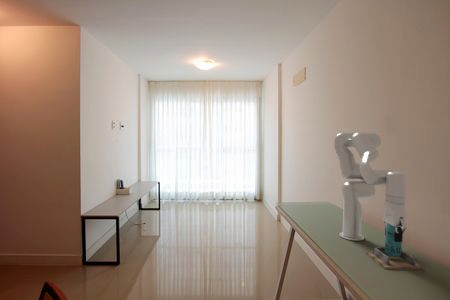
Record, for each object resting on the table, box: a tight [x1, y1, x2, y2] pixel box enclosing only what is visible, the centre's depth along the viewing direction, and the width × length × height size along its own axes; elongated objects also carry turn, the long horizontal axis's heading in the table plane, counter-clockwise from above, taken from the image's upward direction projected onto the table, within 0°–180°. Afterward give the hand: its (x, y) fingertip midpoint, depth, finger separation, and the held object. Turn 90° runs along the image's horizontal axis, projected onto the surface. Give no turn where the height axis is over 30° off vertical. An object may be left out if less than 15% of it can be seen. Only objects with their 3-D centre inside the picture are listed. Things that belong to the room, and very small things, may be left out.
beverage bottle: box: [384, 223, 403, 257], centre depth 123 cm, size 6×7×20 cm
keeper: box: [365, 246, 424, 271], centre depth 123 cm, size 16×16×4 cm
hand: (393, 238), depth 123 cm, fingers closed on beverage bottle, 6 cm apart
